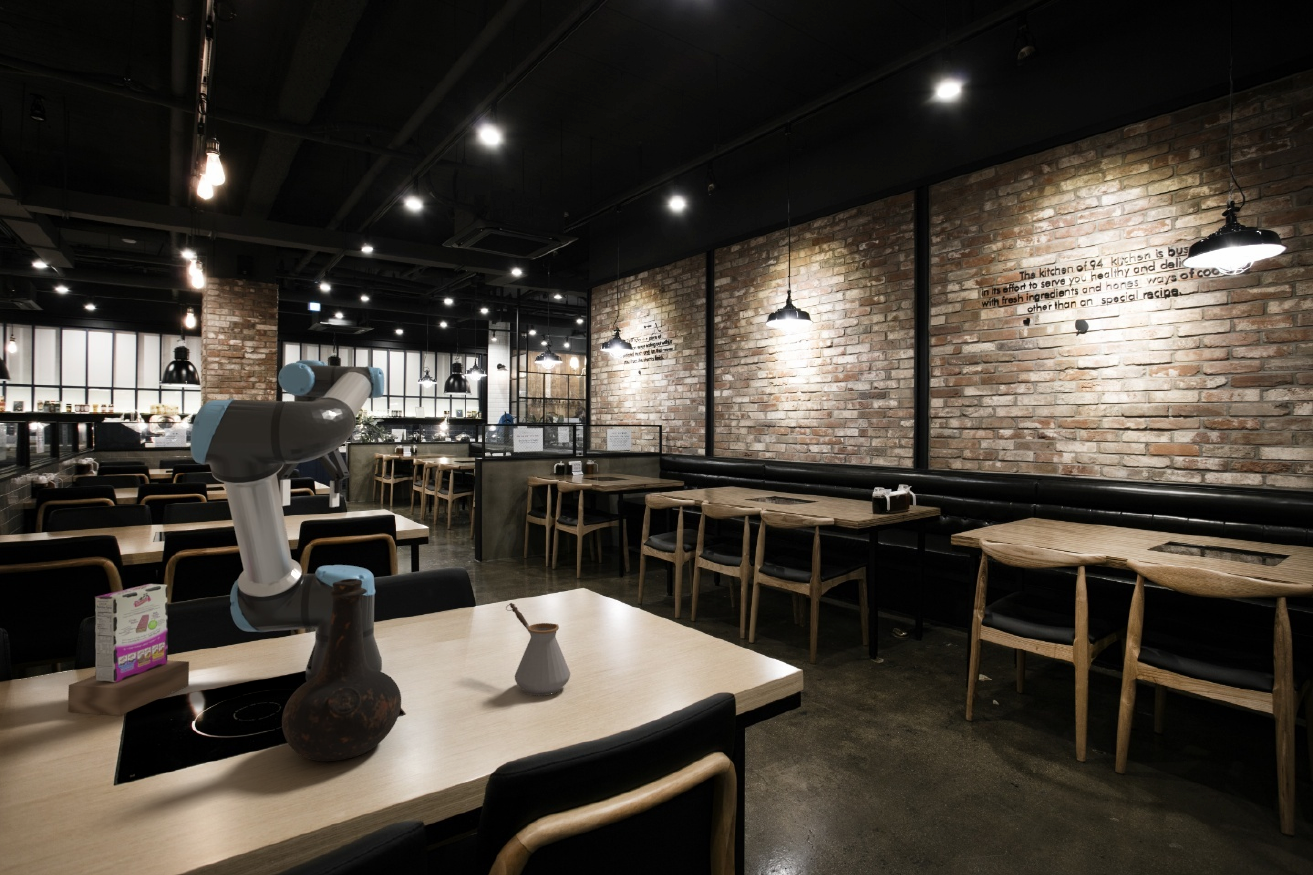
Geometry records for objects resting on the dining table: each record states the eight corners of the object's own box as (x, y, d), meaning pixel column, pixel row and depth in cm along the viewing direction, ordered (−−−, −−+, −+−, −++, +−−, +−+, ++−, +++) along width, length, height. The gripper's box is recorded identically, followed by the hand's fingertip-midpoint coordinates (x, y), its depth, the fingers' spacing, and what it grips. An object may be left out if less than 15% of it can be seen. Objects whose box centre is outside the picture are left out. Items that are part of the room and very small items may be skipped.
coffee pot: (580, 690, 134) (581, 618, 134) (530, 704, 127) (531, 627, 127) (531, 662, 150) (532, 598, 151) (485, 673, 143) (486, 605, 143)
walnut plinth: (188, 685, 135) (188, 661, 135) (119, 715, 120) (120, 688, 120) (142, 682, 136) (142, 658, 136) (68, 711, 121) (68, 684, 121)
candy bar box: (147, 662, 134) (148, 583, 134) (168, 663, 133) (169, 584, 133) (92, 681, 123) (93, 595, 123) (114, 683, 122) (116, 596, 122)
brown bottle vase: (274, 785, 96) (276, 597, 96) (288, 735, 112) (291, 574, 113) (402, 763, 103) (405, 587, 103) (399, 718, 119) (401, 567, 120)
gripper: (365, 422, 166) (364, 505, 165) (276, 422, 169) (275, 503, 169) (347, 421, 158) (346, 508, 158) (254, 421, 162) (253, 506, 161)
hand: (309, 506), depth 163 cm, fingers open, 13 cm apart
